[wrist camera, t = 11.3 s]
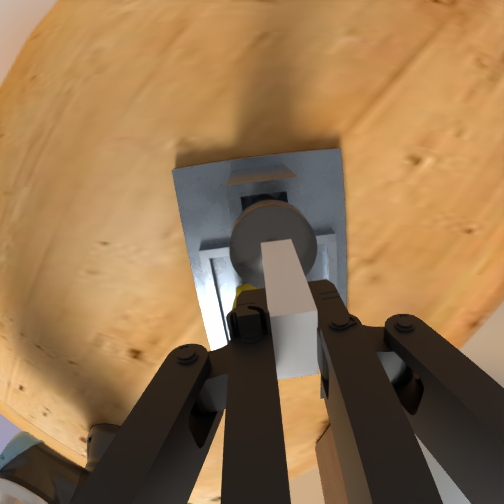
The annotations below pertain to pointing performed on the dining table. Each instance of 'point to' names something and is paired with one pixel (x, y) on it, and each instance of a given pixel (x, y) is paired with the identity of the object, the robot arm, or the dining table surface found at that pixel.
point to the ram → (269, 237)
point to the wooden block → (330, 470)
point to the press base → (240, 197)
